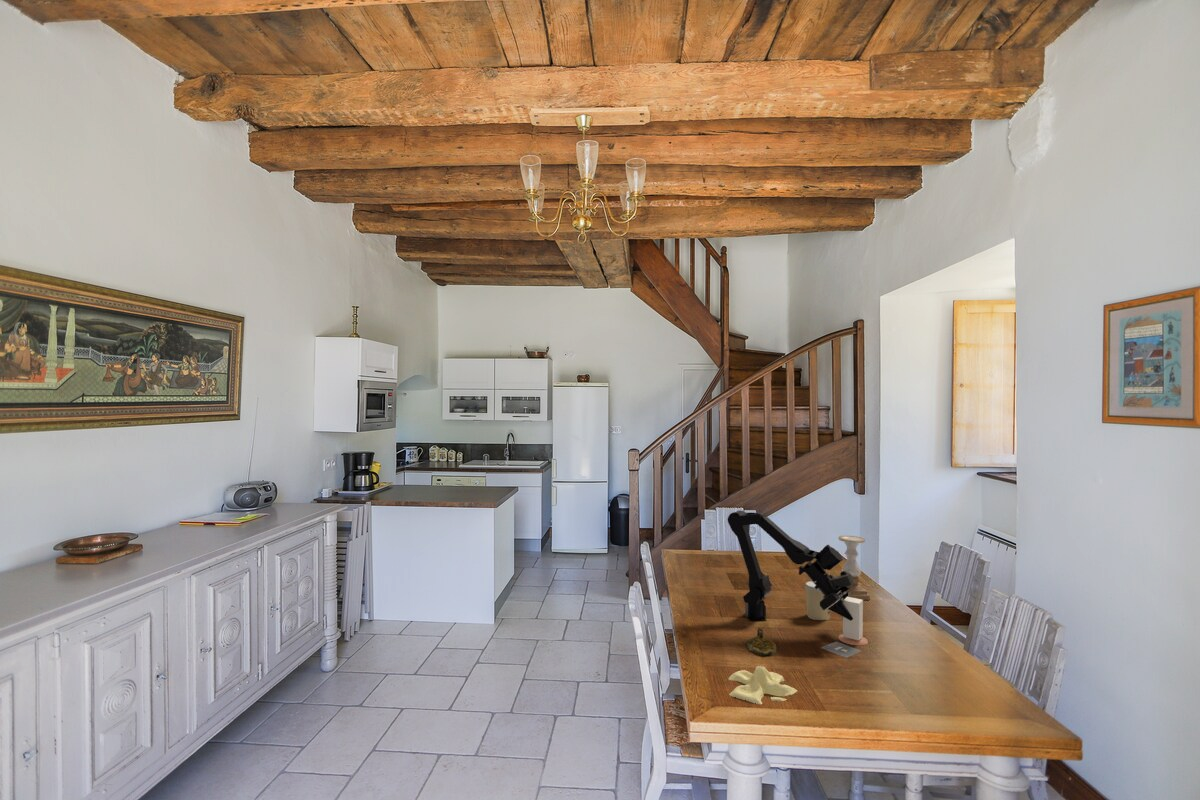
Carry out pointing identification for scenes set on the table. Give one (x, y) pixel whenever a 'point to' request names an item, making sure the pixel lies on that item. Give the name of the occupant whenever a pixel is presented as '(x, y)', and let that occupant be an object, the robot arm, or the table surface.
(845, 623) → the ivory block
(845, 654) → the gray tile
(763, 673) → the cloth
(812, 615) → the coffee cup
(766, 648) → the seal
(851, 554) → the candle holder
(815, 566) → the robot arm
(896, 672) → the table surface
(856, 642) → the peach dome
